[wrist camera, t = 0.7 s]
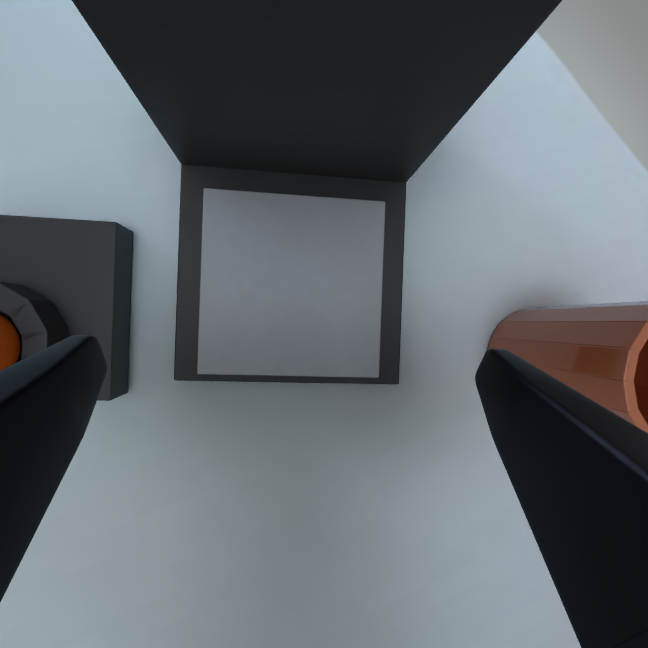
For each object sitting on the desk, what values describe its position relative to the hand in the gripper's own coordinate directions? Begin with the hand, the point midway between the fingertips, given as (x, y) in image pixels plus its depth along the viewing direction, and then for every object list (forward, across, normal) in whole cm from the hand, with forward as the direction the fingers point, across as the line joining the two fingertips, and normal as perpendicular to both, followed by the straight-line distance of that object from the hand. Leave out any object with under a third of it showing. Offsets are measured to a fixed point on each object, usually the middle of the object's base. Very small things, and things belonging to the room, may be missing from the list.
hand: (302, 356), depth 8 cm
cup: (+12, -17, +9) cm, 22 cm away
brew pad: (+13, +14, +8) cm, 20 cm away
